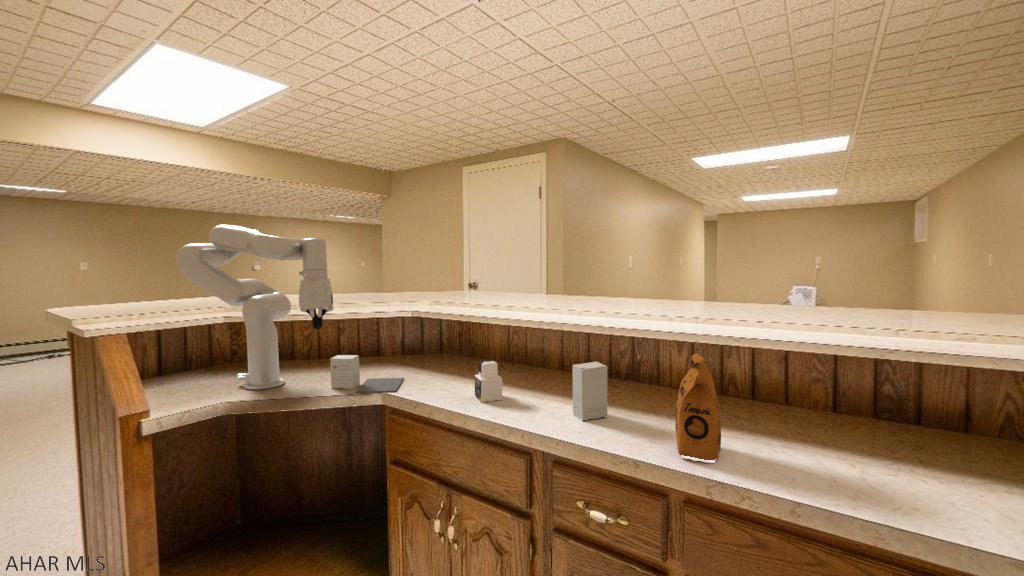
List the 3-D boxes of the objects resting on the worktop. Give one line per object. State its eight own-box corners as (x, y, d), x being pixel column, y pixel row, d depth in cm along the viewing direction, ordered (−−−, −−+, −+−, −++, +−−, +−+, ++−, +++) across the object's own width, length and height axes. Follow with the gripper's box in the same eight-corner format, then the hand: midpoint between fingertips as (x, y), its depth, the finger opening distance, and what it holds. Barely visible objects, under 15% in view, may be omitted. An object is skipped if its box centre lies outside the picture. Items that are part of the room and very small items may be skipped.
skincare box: (597, 411, 135) (597, 360, 134) (608, 418, 129) (609, 365, 128) (571, 415, 132) (571, 363, 131) (581, 422, 126) (582, 368, 125)
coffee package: (671, 459, 103) (673, 361, 102) (676, 439, 115) (678, 350, 113) (720, 467, 99) (723, 366, 98) (720, 445, 111) (723, 354, 109)
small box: (360, 384, 164) (359, 355, 163) (353, 389, 158) (352, 358, 157) (338, 384, 164) (337, 354, 164) (330, 388, 159) (329, 358, 158)
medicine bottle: (474, 396, 150) (474, 359, 149) (495, 393, 152) (495, 357, 151) (480, 402, 143) (480, 364, 142) (502, 400, 146) (502, 362, 145)
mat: (355, 392, 154) (355, 391, 154) (367, 379, 170) (367, 378, 170) (395, 392, 155) (395, 390, 155) (403, 379, 170) (403, 377, 170)
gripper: (288, 275, 154) (290, 330, 155) (334, 274, 155) (336, 329, 156) (297, 274, 161) (299, 327, 162) (341, 274, 162) (343, 326, 163)
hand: (317, 328), depth 159 cm, fingers closed
